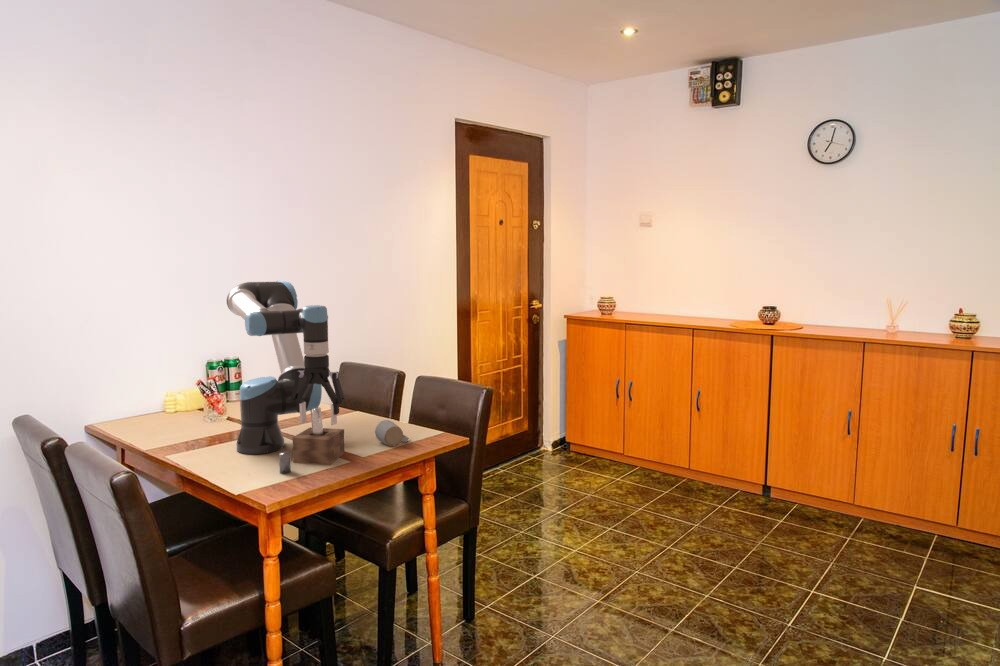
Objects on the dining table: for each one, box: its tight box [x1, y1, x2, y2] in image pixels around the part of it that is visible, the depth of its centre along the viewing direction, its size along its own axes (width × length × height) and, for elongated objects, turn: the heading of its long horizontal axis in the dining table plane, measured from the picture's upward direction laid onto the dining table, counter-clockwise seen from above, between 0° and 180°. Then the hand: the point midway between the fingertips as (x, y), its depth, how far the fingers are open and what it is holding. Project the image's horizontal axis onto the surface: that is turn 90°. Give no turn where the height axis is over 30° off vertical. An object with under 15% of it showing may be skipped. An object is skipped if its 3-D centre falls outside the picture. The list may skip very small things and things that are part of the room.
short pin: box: [278, 450, 292, 475], centre depth 201 cm, size 3×3×6 cm
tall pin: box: [310, 407, 323, 436], centre depth 215 cm, size 3×3×16 cm
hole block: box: [292, 426, 346, 466], centre depth 215 cm, size 12×12×8 cm
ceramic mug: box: [374, 419, 409, 447], centre depth 231 cm, size 11×8×8 cm
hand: (318, 423), depth 214 cm, fingers open, 10 cm apart
